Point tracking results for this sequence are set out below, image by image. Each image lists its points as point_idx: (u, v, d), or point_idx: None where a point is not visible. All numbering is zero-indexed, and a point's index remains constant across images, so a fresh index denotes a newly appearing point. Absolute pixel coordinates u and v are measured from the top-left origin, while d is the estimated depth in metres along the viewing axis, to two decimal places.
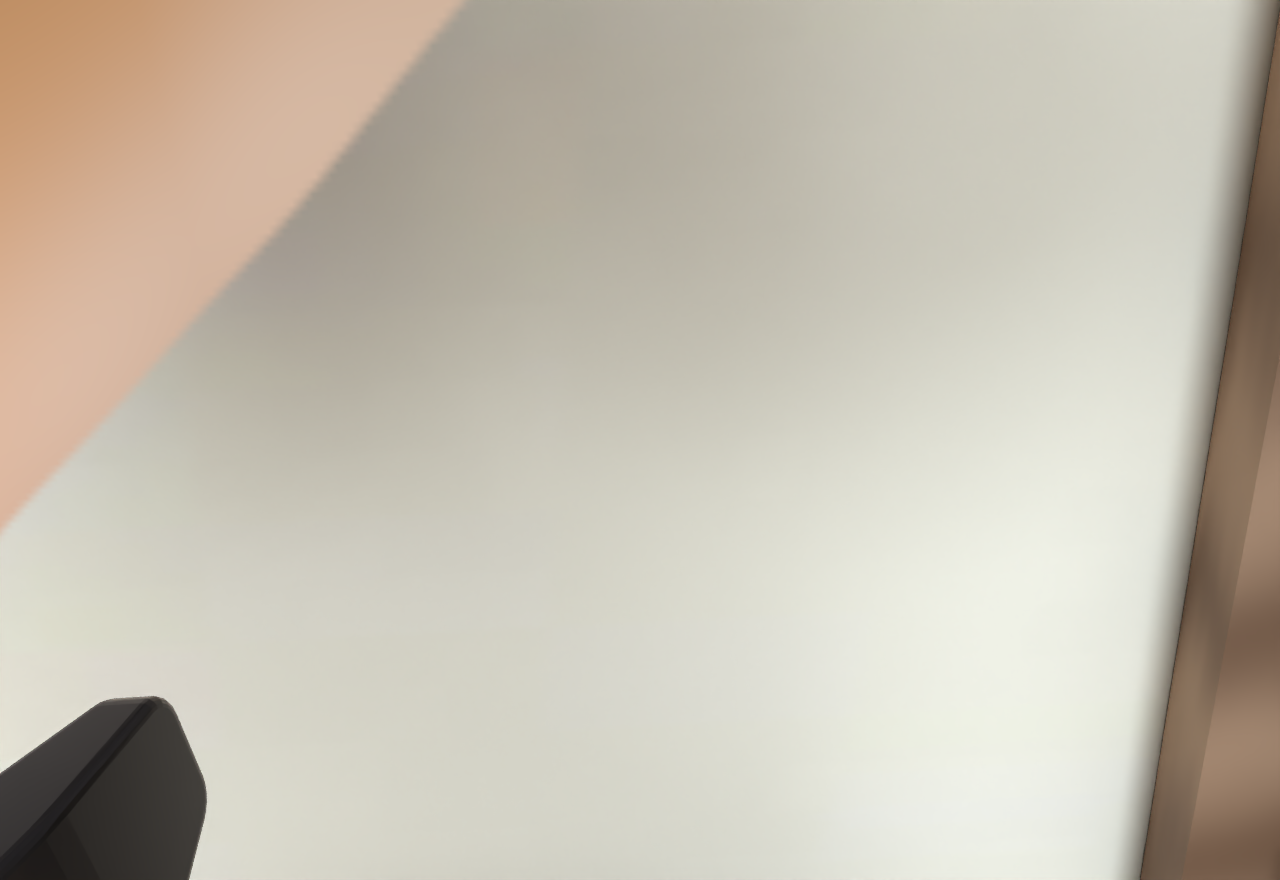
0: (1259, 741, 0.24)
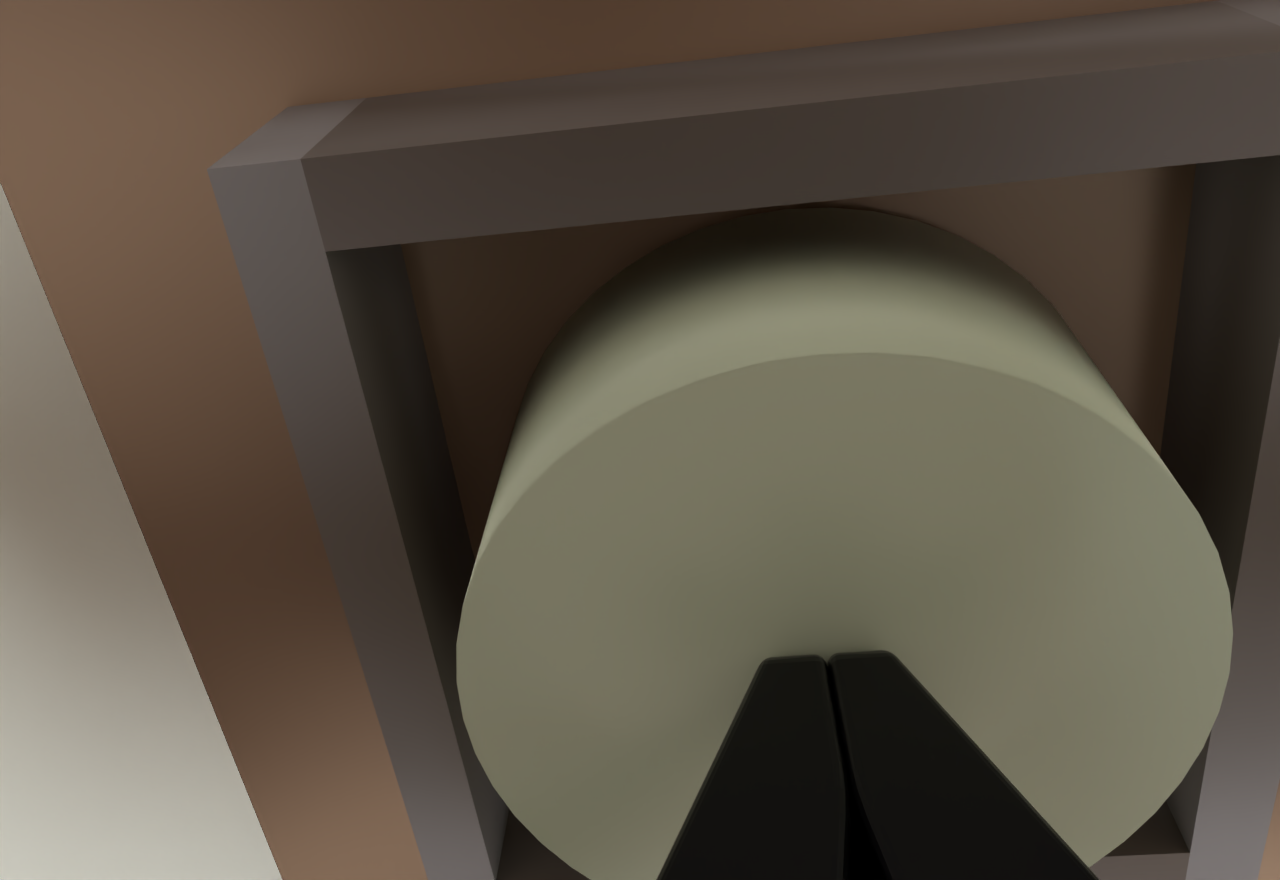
0: None
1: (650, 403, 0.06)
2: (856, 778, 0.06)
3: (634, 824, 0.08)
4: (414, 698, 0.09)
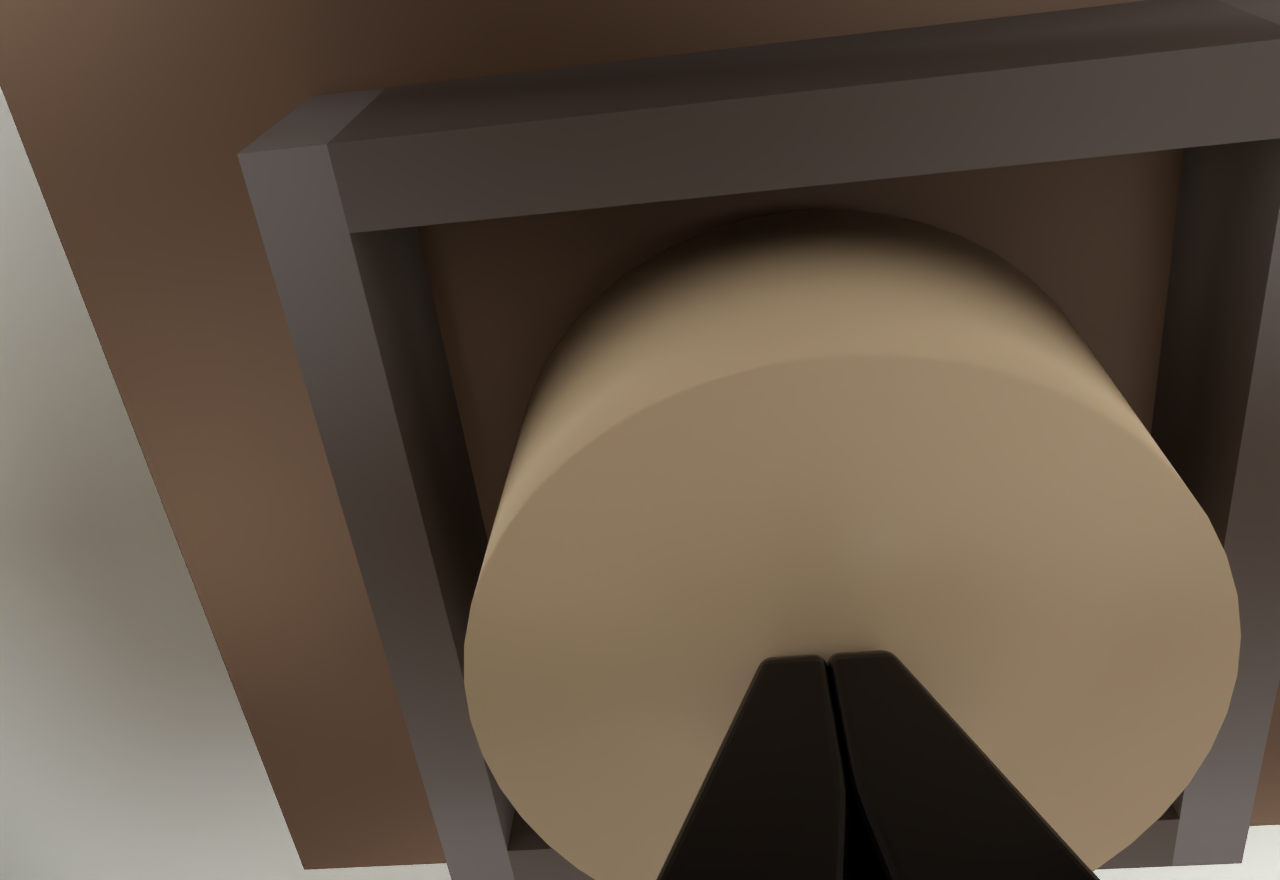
0: None
1: None
2: (856, 778, 0.06)
3: None
4: None
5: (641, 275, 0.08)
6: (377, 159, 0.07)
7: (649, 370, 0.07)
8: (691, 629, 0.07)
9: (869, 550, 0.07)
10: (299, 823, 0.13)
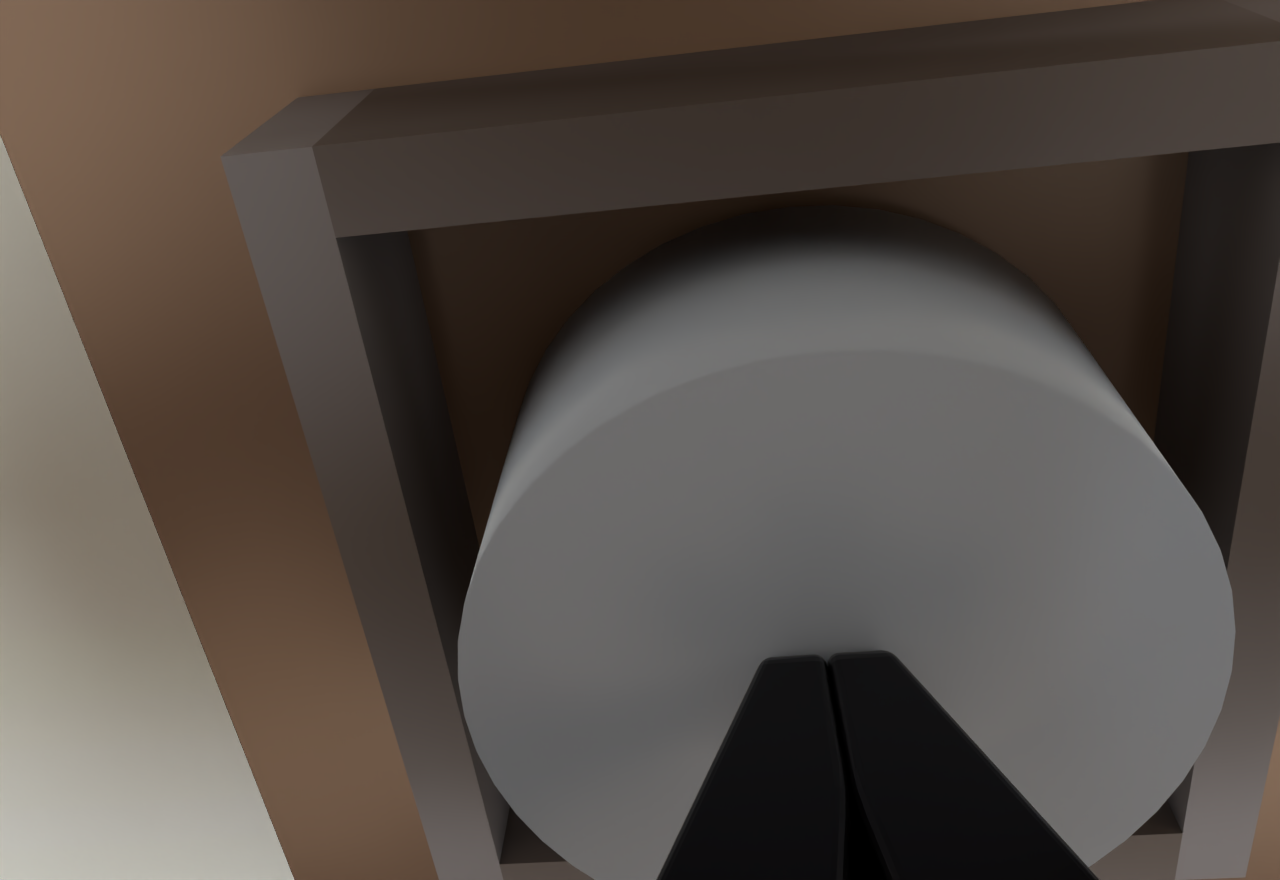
0: (321, 686, 0.11)
1: None
2: (856, 779, 0.06)
3: None
4: None
5: None
6: None
7: None
8: None
9: None
10: None
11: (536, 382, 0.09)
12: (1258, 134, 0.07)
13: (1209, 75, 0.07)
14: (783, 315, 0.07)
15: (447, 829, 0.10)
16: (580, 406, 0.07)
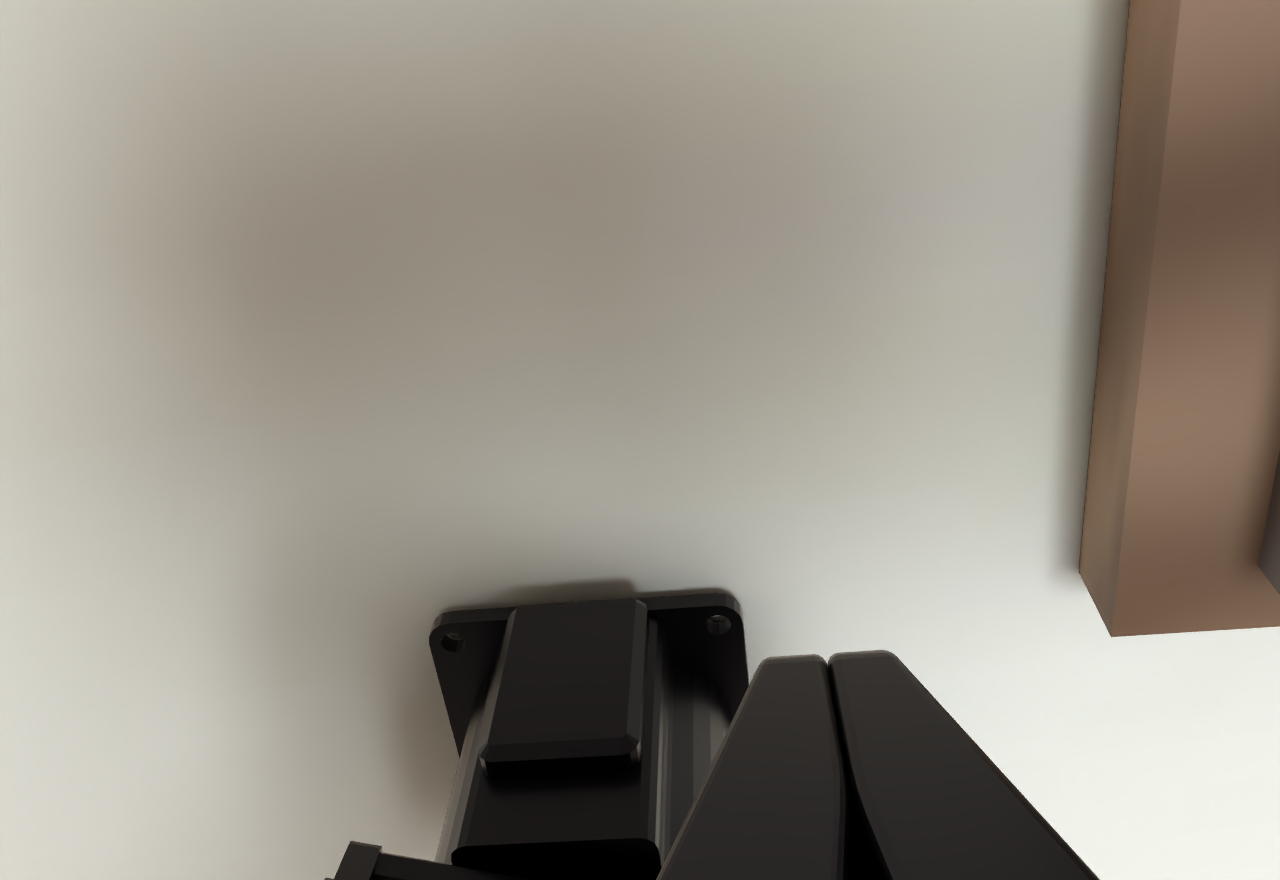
0: None
1: None
2: (856, 778, 0.06)
3: None
4: None
5: None
6: None
7: None
8: None
9: None
10: (1123, 604, 0.20)
11: None
12: None
13: None
14: None
15: None
16: None
